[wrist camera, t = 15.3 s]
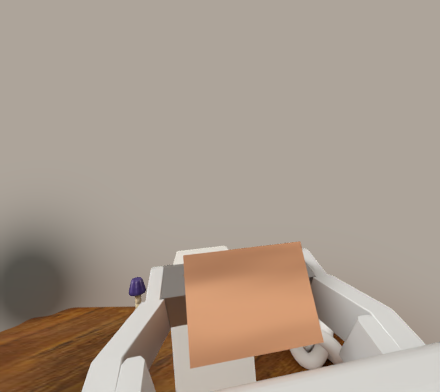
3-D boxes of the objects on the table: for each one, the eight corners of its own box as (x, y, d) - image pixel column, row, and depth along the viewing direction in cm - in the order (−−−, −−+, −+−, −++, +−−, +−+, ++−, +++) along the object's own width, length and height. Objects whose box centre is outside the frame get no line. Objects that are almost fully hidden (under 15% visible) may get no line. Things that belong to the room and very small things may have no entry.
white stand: (261, 444, 31) (246, 272, 32) (181, 465, 29) (167, 283, 30) (234, 350, 51) (225, 245, 51) (185, 359, 49) (177, 251, 50)
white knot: (295, 334, 55) (292, 300, 55) (347, 348, 49) (344, 310, 49) (285, 365, 45) (281, 324, 45) (349, 387, 39) (344, 339, 39)
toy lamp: (152, 332, 61) (148, 275, 61) (141, 342, 56) (137, 282, 57) (139, 329, 62) (135, 275, 63) (127, 340, 58) (123, 281, 58)
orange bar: (323, 342, 6) (300, 241, 7) (190, 368, 6) (183, 255, 6) (225, 282, 27) (222, 258, 28) (194, 286, 26) (193, 262, 27)
